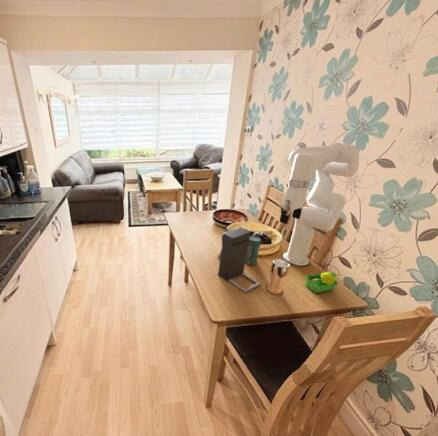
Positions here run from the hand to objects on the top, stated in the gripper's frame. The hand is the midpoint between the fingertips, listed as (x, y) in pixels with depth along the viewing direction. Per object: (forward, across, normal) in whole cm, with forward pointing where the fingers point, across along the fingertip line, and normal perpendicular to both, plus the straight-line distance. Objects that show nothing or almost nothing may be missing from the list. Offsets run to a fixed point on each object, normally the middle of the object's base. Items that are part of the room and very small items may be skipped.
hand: (289, 220), depth 107 cm
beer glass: (+32, +8, +5) cm, 34 cm away
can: (+32, -2, -16) cm, 36 cm away
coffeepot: (+32, +6, -26) cm, 42 cm away
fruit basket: (+32, -11, +16) cm, 38 cm away
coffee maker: (+32, +16, -10) cm, 37 cm away
